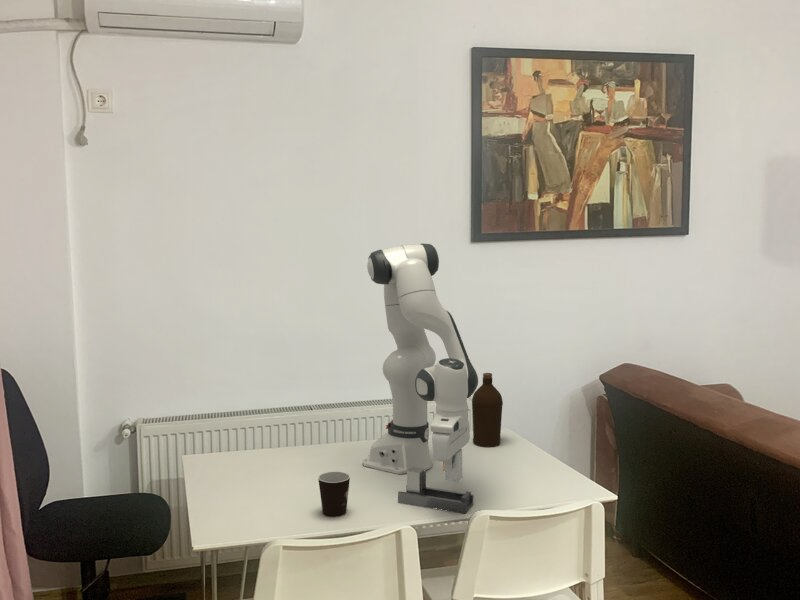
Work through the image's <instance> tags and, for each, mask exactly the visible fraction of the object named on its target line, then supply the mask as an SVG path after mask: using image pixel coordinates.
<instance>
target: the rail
mask: <svg viewBox="0 0 800 600" xmlns="http://www.w3.org/2000/svg"><path fill="white" fill-rule="evenodd" d="M405 487H406V489H405V491H398V492H397V503H398V504H402V503H403V504H404V505H408V504H409V506H415V505H416V506H415V507H421V506H422V508H427V507H429V508H428V509H433V508H437V509H436V510H439V509H442V510H441V511H445V510H447V511H446V512H451V511H452V513H459V514H464V515H465V514H467V513H468V512H469V510H470V509H471V508H472V507H473V506H474V494H473V493H472V491H466V492H460V491H453V490H445V489H440V488H433V487H428V486H427V471H426V470H425V469H423V468H416V467H411V468H410V469H409V470H408V471H407V473H406V485H405Z"/></svg>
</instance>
